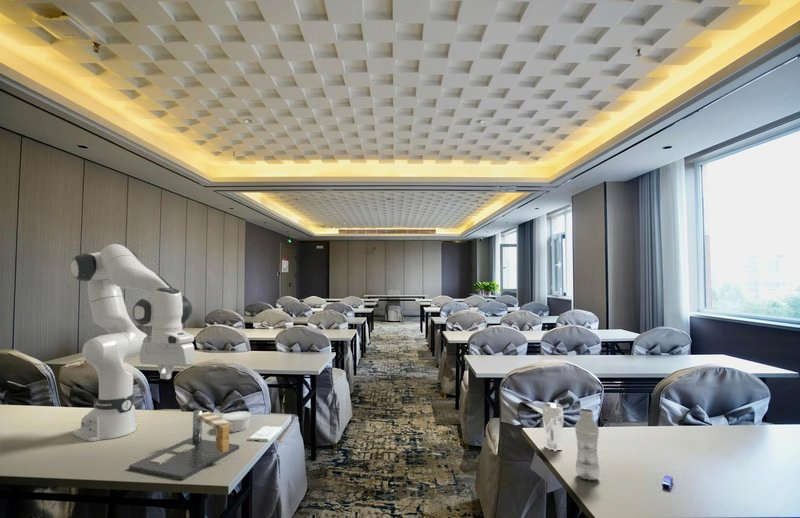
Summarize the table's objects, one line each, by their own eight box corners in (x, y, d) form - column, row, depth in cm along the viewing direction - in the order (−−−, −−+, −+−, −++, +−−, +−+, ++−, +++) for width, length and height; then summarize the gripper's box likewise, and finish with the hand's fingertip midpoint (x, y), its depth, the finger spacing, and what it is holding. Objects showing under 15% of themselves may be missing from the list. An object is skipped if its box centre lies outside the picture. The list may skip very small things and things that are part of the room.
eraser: (661, 489, 114) (661, 482, 115) (665, 481, 119) (664, 474, 119) (670, 492, 113) (669, 484, 113) (673, 483, 118) (672, 476, 118)
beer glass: (564, 446, 144) (563, 403, 145) (563, 453, 138) (562, 409, 139) (544, 442, 147) (543, 401, 148) (542, 450, 141) (541, 406, 142)
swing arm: (196, 437, 144) (197, 414, 145) (207, 433, 147) (208, 411, 148) (222, 453, 131) (223, 427, 131) (234, 449, 134) (235, 424, 134)
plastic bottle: (571, 473, 123) (569, 407, 125) (592, 472, 124) (590, 406, 125) (582, 484, 117) (581, 414, 118) (605, 483, 118) (602, 413, 119)
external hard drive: (282, 430, 161) (268, 443, 149) (262, 430, 162) (247, 442, 150) (282, 426, 161) (268, 438, 149) (263, 426, 162) (247, 437, 150)
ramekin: (235, 422, 170) (235, 409, 170) (256, 425, 166) (256, 412, 166) (214, 431, 159) (214, 418, 159) (237, 435, 155) (237, 421, 156)
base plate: (129, 469, 127) (130, 430, 127) (190, 440, 149) (191, 408, 150) (183, 480, 120) (184, 439, 120) (239, 448, 142) (239, 414, 143)
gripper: (135, 336, 134) (133, 378, 133) (182, 339, 128) (181, 383, 127) (152, 334, 140) (150, 374, 139) (198, 336, 134) (197, 378, 133)
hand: (165, 378), depth 133 cm, fingers closed
